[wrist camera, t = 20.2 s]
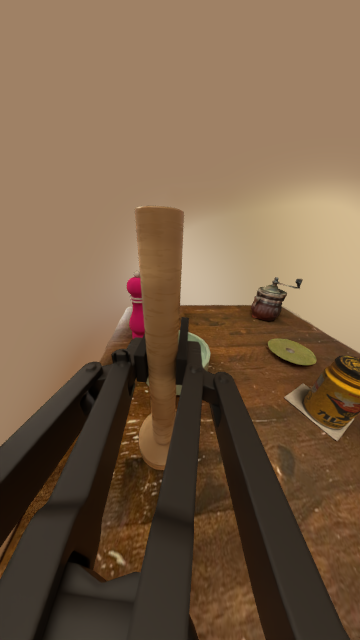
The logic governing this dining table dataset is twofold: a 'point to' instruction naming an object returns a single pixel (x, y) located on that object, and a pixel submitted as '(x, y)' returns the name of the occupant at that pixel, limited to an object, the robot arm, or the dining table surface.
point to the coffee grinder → (269, 301)
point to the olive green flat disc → (292, 351)
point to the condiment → (331, 396)
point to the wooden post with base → (160, 321)
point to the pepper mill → (136, 306)
